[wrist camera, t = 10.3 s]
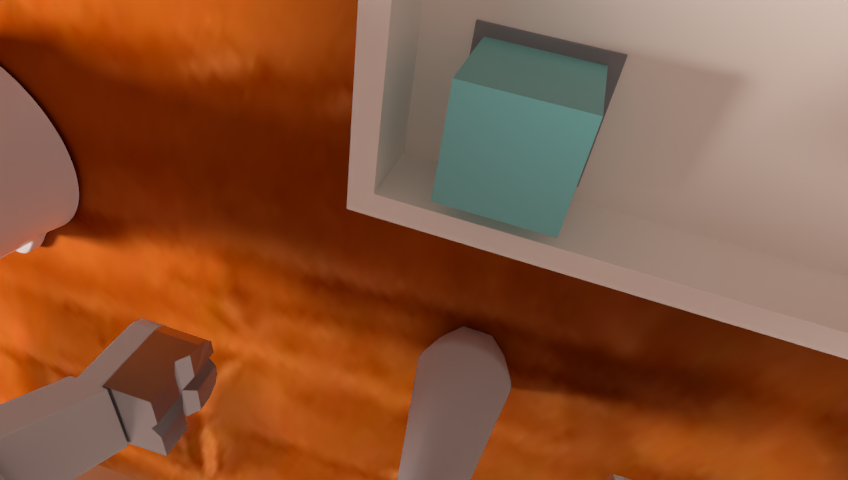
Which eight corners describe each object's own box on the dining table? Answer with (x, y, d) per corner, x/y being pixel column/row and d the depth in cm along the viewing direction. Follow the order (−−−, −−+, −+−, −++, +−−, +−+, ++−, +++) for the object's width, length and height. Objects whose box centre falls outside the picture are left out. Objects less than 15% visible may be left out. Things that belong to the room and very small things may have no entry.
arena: (385, 158, 28) (346, 208, 24) (417, -150, 20) (366, -148, 16) (884, 298, 24) (932, 385, 20) (1175, -7, 16) (1347, 41, 12)
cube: (461, 145, 25) (430, 201, 21) (483, 36, 22) (452, 78, 18) (568, 174, 24) (557, 238, 20) (607, 65, 21) (603, 116, 17)
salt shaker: (410, 334, 35) (323, 530, 25) (476, 303, 32) (406, 515, 22) (467, 390, 37) (406, 596, 27) (535, 366, 33) (496, 591, 23)
